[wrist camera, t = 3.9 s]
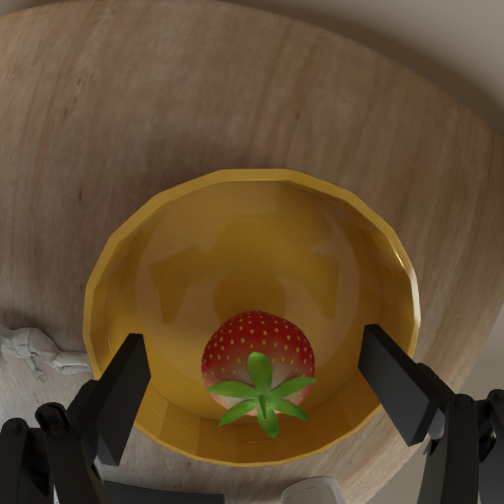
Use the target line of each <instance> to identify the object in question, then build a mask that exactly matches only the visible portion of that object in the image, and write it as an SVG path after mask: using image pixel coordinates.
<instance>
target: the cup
mask: <svg viewBox="0 0 504 504" xmlns="http://www.w3.org/2000/svg"><path fill="white" fill-rule="evenodd" d="M281 497H282V503H283V504H346V502H345V500H344V497H343V495H342V493H341V489H340V486H339V483H338V481H337V480H336V479H334V478H331V477H315V478H310V479H305V480H302V481H299V482H297V483H294V484H292V485H290V486H289V487H287V488H286V489H285V490H284V491H283V492H282V494H281Z"/></svg>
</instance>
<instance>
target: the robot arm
mask: <svg viewBox="0 0 504 504" xmlns="http://www.w3.org/2000/svg"><path fill="white" fill-rule="evenodd" d="M358 369H359V370H360V372H361V373H362V375H363V376H364V378H365V379H366V381H367V383H368V384H369V386H370V387H371V389H372V390H373V392H374V393H375V395H376V396H377V398H378V400H379V401H380V403H381V404H382V406H383V407H384V409H385V411H386V412H387V414H388V415H389V417H390V418H391V420H392V422H393V423H394V425H395V426H396V428H397V429H398V431H399V433H400V434H401V436H402V437H403V439H404V441H405V442H406V444H407V446H408V447H409V446H412V445H415V444H418V443H420V442H423V440H424V438H425V436H426V434H427V432H428V434H429V435H430V436H431V439H430V441H429V443H428V445H427V446H426V448H425V450H424V452H423V455H425V453H426V452H427V457H426V463H425V469H424V474H423V480H422V484H421V488H420V493H419V497H418V501H417V504H477V501H478V490H479V495H480V501H481V504H504V390H501V389H494V390H492V391H490V392H489V394H488V396H487V399H485V400H478V401H475V400H474V399H473V398H472V397H470V396H468V395H466V394H455V393H454V392H453V391H452V390H451V389H450V388H449V387H448V386H447V385H446V384H445V383H444V382H443V381H442V380H441V379H440V378H439V377H438V376H437V375H436V374H435V373H434V371H433V370H432V369H431V368H430V367H428V366H426V365H424V364H422V363H417V364H416V363H415V362H414V361H413V360H412V359H411V358H410V357H409V356H408V355H407V354H406V353H405V352H404V351H403V350H402V349H401V348H400V347H399V346H398V344H397V343H396V342H395V341H394V340H393V339H392V338H391V337H390V336H389V335H388V334H387V333H386V332H385V331H384V330H383V329H382V328H381V327H380V326H379V325H378V324H369V325H365V326H364V332H363V339H362V345H361V350H360V356H359V361H358ZM150 379H151V372H150V368H149V363H148V358H147V353H146V348H145V343H144V338H143V334H138V333H129V334H128V336H127V337H126V339H125V340H124V342H123V343H122V345H121V346H120V348H119V349H118V351H117V353H116V354H115V356H114V357H113V359H112V360H111V362H110V363H109V365H108V367H107V368H106V370H105V371H104V373H103V375H102V376H101V378H100V379H99V380H92V379H91V380H89V381H88V382H87V383H85V384H84V385H83V386H82V387H81V389H80V390H79V392H78V394H77V395H76V396H75V399H73V401H72V402H71V404H70V406H69V407H68V409H67V410H65V408H64V406H63V405H61V404H60V403H56V402H49V403H46V404H43V405H41V406H40V407H38V409H37V410H36V412H35V418H36V420H37V421H38V423H39V425H40V427H41V428H29V426H28V425H27V423H26V421H25V420H23V419H22V418H12V419H9V420H7V421H6V422H5V423H4V425H3V426H2V429H1V432H0V504H54V486H55V490H56V493H57V497H58V500H59V504H112V502H111V500H110V498H109V495H108V493H107V491H106V489H105V487H104V484H103V482H102V480H101V477H100V475H99V472H98V470H97V467H96V466H95V464H94V460H95V458H96V455H97V457H98V459H99V460H100V462H101V463H102V464H106V465H111V466H116V467H118V466H119V463H120V460H121V457H122V455H123V452H124V449H125V446H126V443H127V440H128V438H129V435H130V432H131V429H132V426H133V424H134V421H135V418H136V416H137V413H138V410H139V408H140V405H141V402H142V400H143V397H144V394H145V392H146V389H147V387H148V384H149V382H150ZM494 432H495V434H496V438H494V435H493V434H494Z"/></svg>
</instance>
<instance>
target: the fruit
mask: <svg viewBox="0 0 504 504" xmlns="http://www.w3.org/2000/svg"><path fill="white" fill-rule="evenodd" d="M201 372H202V378H203V381H204V384H205V387H206V390H208V392H209V394H210V395H211V396H212V398H213V399H214V400H215V401H216V402H217V403H219V404H220V405H221V406H223V407H225V408H227V409H229V410H228V411H227V412H226V413H225V414H224V416H223V417H222V419H221V421H220V423H219V425H218V426H221V425H224V424H227V423H229V422H232V421H234V420H236V419H238V418H240V417H242V416H244V415H253V416H257V420H258V423H259V425H260V426H261V427H262V429H263V430H264V431H265V433H266V434H267V435H269V436H270V437H273V438H275V437H276V435H277V434H278V430H279V423H278V419H277V417H276V415H275V414H278V413H286V414H289V415H292V416H295V417H298V418H301V419H303V420H306V421H309V422H310V419H309V418H308V416H307V415H306V414H305V412H304V411H303V410H302V409H301V408H300V407H298V406H297V405H298V404H299V403H301V402H302V400H303V399H304V398H305V397H306V395H307V394H308V393H309V390H310V388H311V385H312V382H315V381H317V380H316V379H314V374H315V357H314V353H313V350H312V347H311V344H310V342H309V341H308V339H307V337H306V336H305V334H304V333H303V331H302V330H301V329H300V328H298V327H297V326H296V325H294V324H293V323H292V322H290V321H288V320H286V319H284V318H281V317H279V316H276V315H273V314H270V313H267V312H265V311H259V310H252V311H247V312H244V313H241V314H238V315H236V316H234V317H232V318H231V319H229V320H228V321H226V322H225V323H224V324H222V325H221V326H220V327H219V328H218V329H217V330H216V331H215V333H214V334H213V335H212V336H211V338H210V340H209V341H208V343H207V344H206V346H205V349H204V352H203V356H202V359H201Z"/></svg>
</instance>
